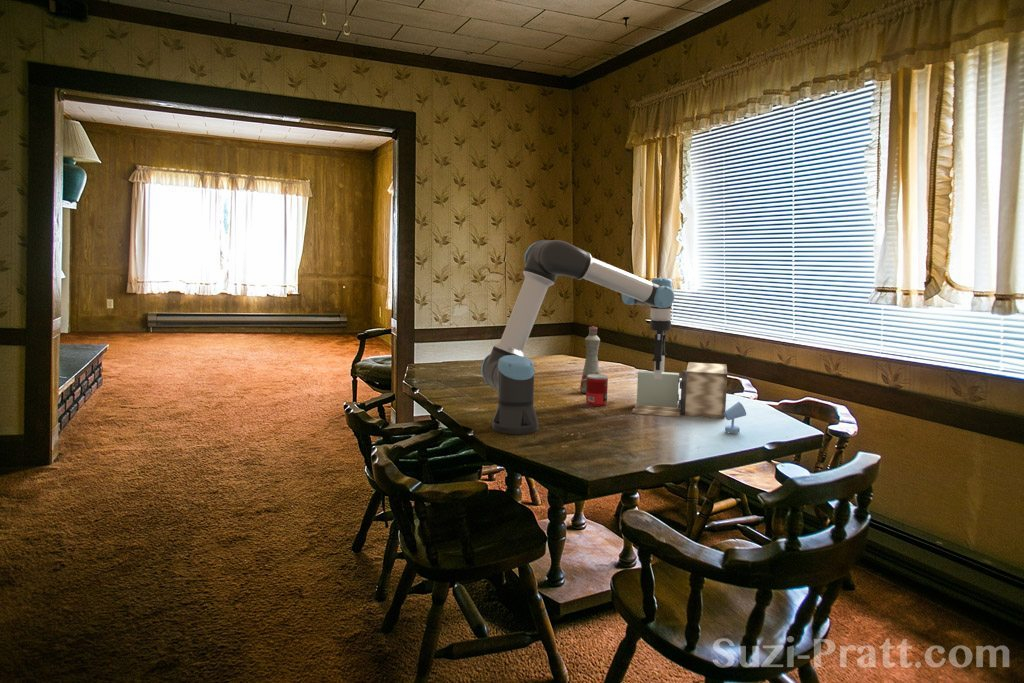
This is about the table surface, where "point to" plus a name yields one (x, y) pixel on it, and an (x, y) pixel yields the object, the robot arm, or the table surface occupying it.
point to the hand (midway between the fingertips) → (659, 375)
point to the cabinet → (697, 393)
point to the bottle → (590, 357)
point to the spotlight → (734, 413)
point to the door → (658, 389)
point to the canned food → (596, 390)
